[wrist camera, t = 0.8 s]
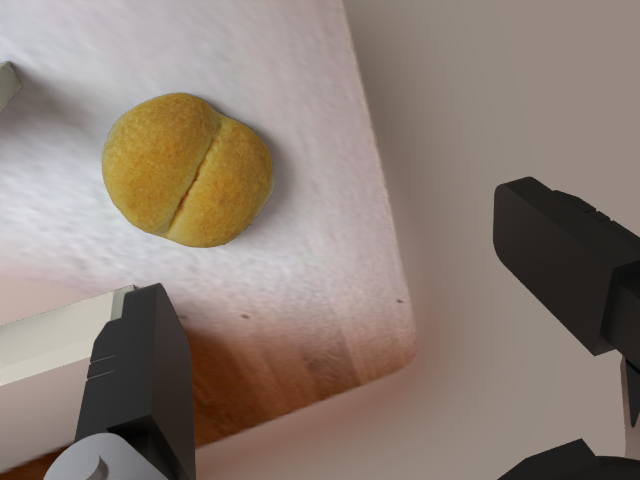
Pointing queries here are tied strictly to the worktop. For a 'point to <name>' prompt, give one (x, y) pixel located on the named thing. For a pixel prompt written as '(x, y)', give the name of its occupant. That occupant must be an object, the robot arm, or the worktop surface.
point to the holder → (51, 312)
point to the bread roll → (186, 171)
